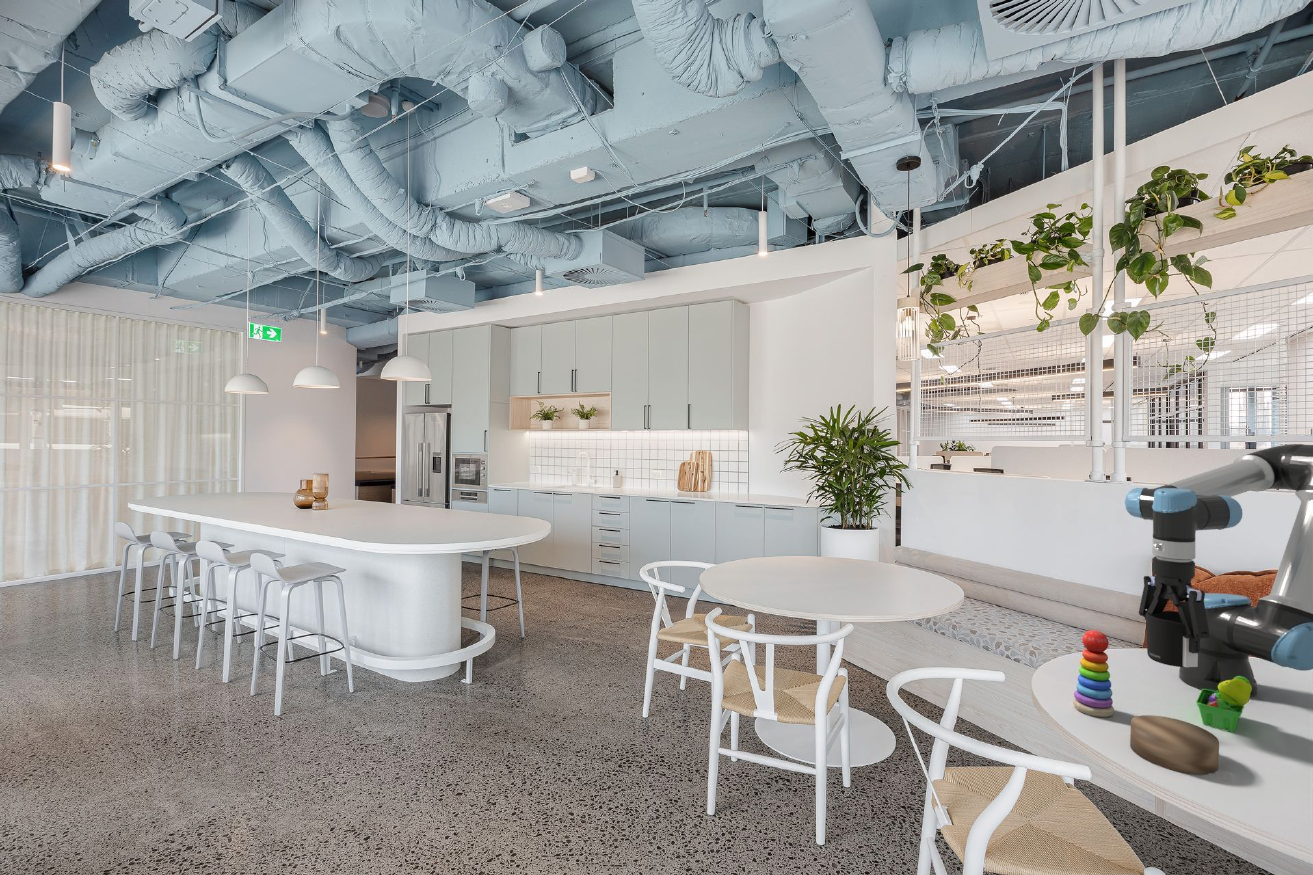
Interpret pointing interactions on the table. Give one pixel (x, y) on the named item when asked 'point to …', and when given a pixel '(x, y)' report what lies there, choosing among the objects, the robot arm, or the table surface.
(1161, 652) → the pen holder
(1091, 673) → the stacking toy
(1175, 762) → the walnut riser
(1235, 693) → the fruit basket
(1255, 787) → the table surface
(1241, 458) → the robot arm
